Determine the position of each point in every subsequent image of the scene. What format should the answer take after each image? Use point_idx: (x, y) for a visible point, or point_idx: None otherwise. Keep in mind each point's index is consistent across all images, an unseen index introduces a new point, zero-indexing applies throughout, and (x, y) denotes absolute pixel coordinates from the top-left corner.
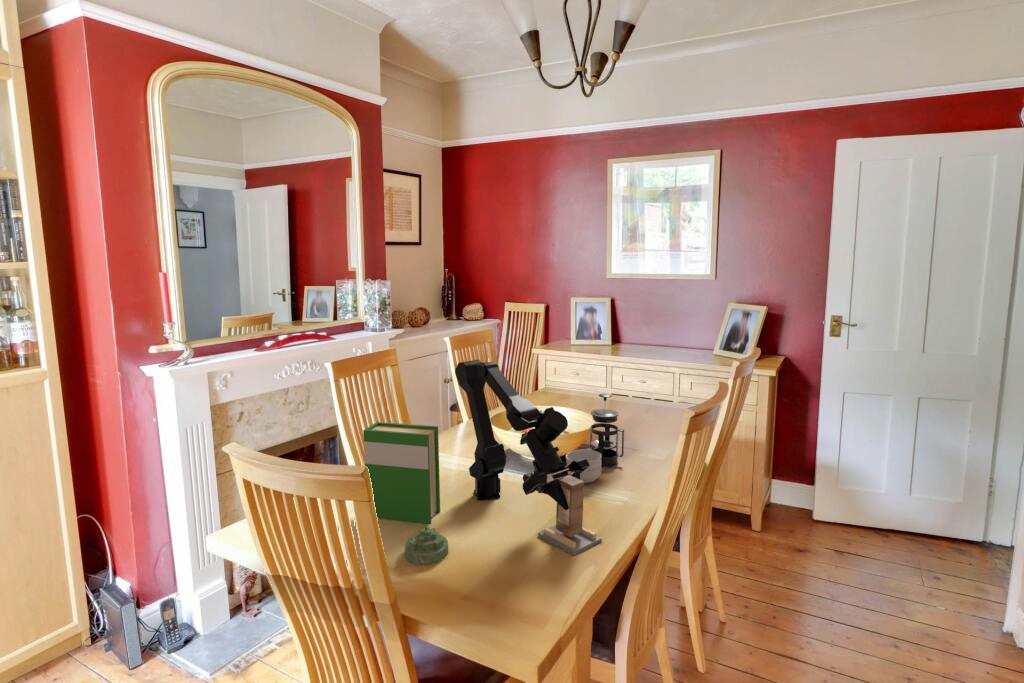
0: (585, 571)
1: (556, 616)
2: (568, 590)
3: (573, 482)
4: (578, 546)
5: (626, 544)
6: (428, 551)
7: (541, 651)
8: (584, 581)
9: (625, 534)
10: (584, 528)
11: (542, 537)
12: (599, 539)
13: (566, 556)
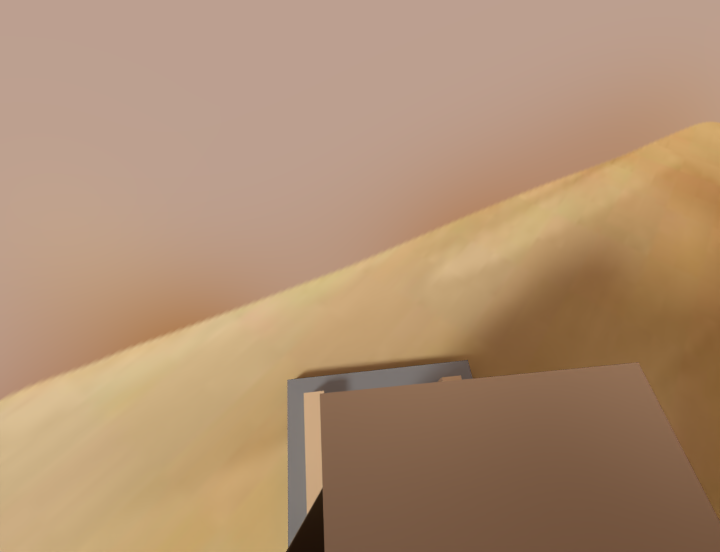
0: (477, 265)
1: (641, 173)
2: (572, 225)
3: (555, 477)
4: (421, 383)
5: (235, 310)
6: None
7: (703, 124)
8: (508, 232)
9: (165, 369)
10: (313, 474)
11: None
12: (303, 378)
13: (490, 373)
